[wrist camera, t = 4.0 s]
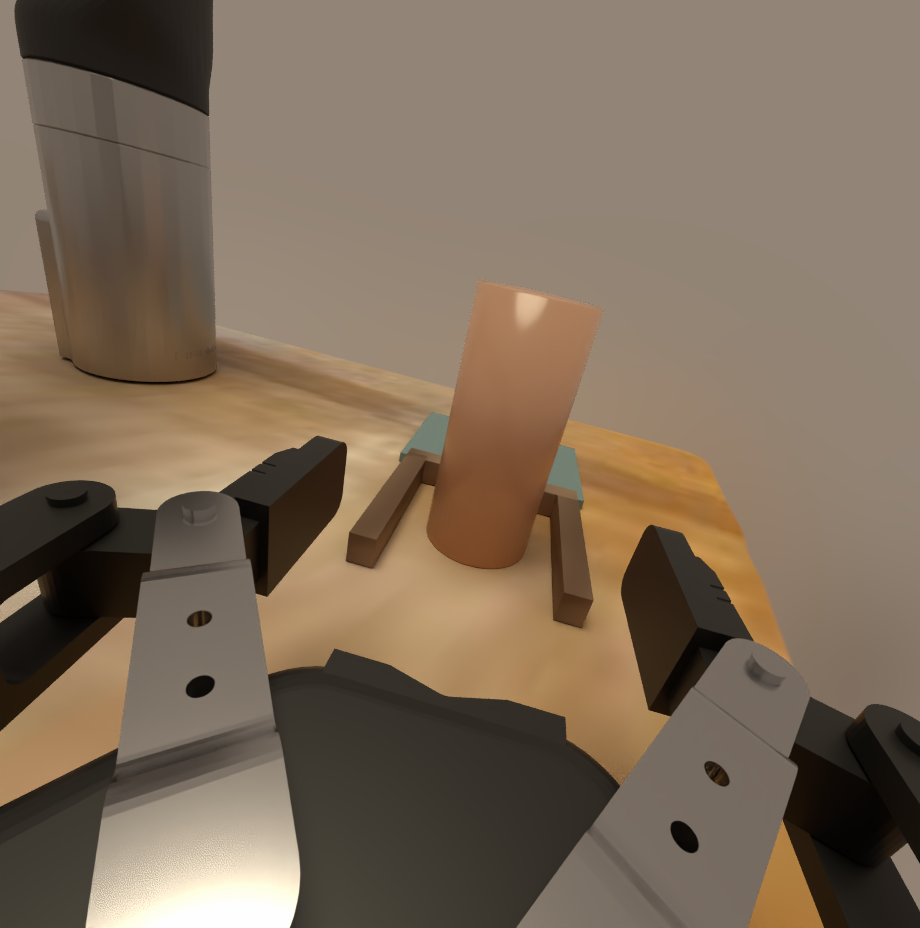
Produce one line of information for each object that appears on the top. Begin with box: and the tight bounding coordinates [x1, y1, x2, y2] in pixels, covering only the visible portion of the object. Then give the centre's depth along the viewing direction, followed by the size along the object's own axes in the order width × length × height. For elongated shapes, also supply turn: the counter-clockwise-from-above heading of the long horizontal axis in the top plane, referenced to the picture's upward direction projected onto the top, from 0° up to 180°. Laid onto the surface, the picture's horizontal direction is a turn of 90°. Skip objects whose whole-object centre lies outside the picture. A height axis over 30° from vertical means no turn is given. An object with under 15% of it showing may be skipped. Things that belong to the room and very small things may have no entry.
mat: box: [399, 412, 584, 509], centre depth 32 cm, size 12×9×1 cm
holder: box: [346, 448, 593, 628], centre depth 23 cm, size 10×10×2 cm
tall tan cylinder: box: [427, 280, 604, 569], centre depth 21 cm, size 5×5×12 cm
